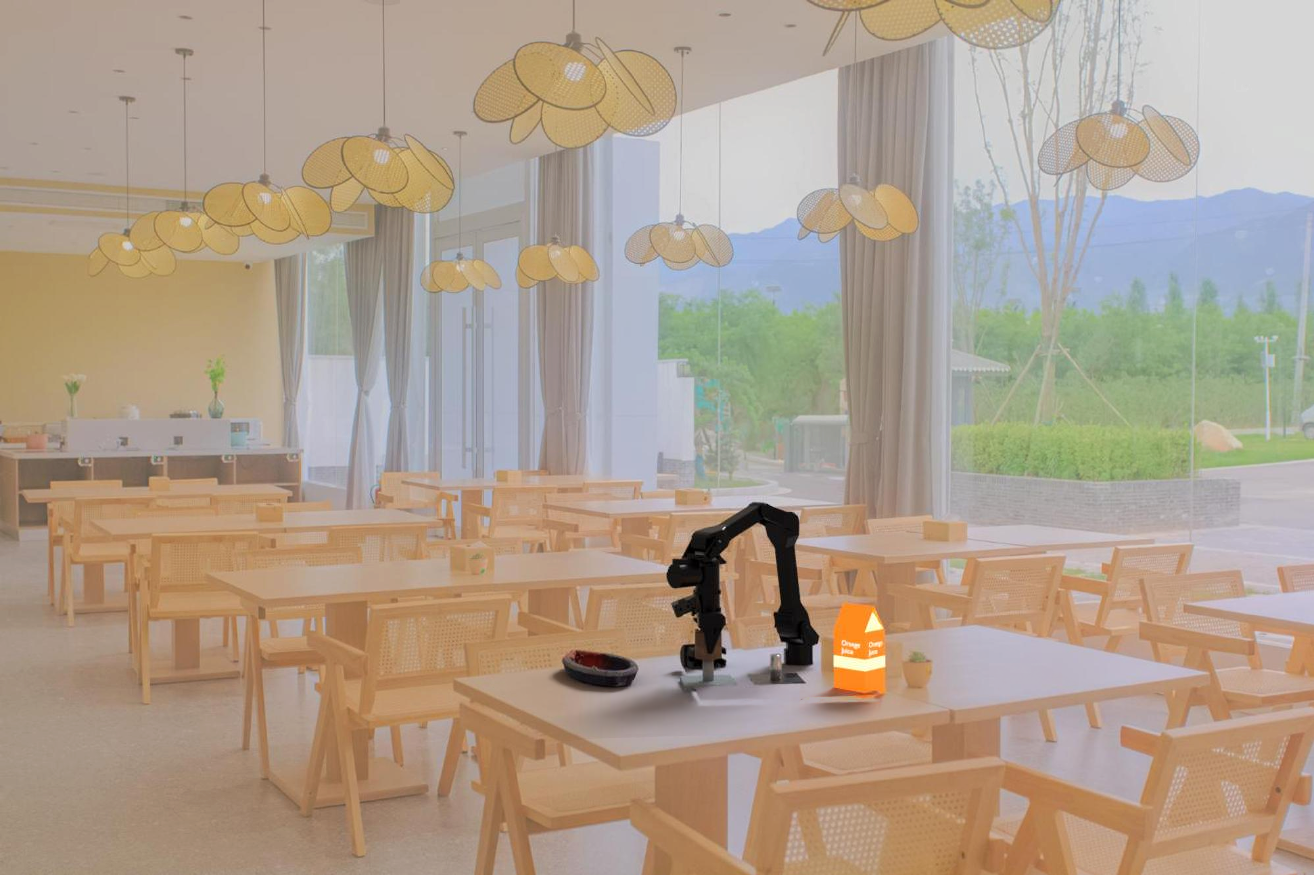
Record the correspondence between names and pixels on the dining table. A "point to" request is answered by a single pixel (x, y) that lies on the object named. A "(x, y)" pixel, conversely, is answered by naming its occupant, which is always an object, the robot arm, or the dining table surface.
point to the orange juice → (859, 650)
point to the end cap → (690, 660)
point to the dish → (600, 668)
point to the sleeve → (701, 647)
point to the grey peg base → (706, 678)
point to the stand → (776, 674)
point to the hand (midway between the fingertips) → (708, 651)
